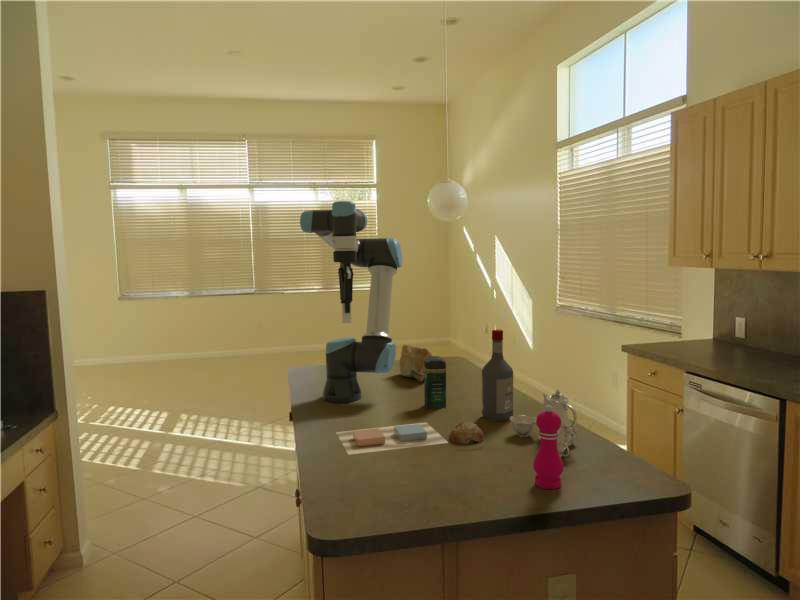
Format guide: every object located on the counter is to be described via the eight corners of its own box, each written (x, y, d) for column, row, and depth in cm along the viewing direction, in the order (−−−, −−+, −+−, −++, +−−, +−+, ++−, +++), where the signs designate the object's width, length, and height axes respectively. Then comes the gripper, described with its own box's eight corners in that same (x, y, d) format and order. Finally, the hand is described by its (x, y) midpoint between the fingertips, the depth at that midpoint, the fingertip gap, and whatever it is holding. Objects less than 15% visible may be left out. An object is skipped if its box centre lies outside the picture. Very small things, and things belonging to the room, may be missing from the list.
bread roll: (458, 460, 167) (464, 440, 164) (441, 436, 175) (447, 416, 171) (485, 454, 172) (492, 434, 168) (468, 431, 180) (474, 411, 176)
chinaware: (500, 438, 180) (495, 387, 178) (544, 425, 186) (540, 376, 184) (556, 470, 154) (551, 411, 152) (605, 454, 160) (601, 397, 158)
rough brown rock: (450, 384, 245) (452, 349, 244) (414, 384, 239) (416, 349, 239) (429, 374, 267) (431, 342, 266) (396, 374, 261) (397, 342, 260)
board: (335, 436, 179) (335, 432, 179) (426, 425, 187) (426, 422, 187) (348, 458, 160) (348, 454, 160) (448, 446, 168) (448, 442, 168)
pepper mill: (529, 478, 145) (529, 401, 143) (557, 477, 146) (557, 400, 144) (538, 490, 138) (539, 410, 136) (567, 489, 138) (568, 408, 136)
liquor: (516, 416, 196) (516, 330, 193) (501, 423, 189) (501, 333, 186) (493, 411, 202) (493, 327, 199) (478, 417, 195) (478, 330, 192)
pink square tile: (352, 431, 173) (358, 439, 165) (378, 428, 175) (385, 436, 168) (352, 438, 173) (358, 447, 166) (378, 435, 176) (385, 444, 168)
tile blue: (394, 426, 177) (401, 434, 169) (418, 423, 179) (426, 431, 171) (394, 433, 177) (401, 442, 169) (418, 430, 179) (427, 439, 172)
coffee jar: (448, 410, 204) (447, 359, 202) (426, 411, 203) (425, 360, 201) (444, 403, 213) (444, 354, 212) (423, 403, 213) (422, 354, 211)
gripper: (329, 250, 189) (332, 320, 191) (337, 250, 176) (339, 326, 179) (352, 249, 191) (354, 319, 193) (360, 249, 178) (362, 324, 181)
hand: (346, 322), depth 186 cm, fingers closed
